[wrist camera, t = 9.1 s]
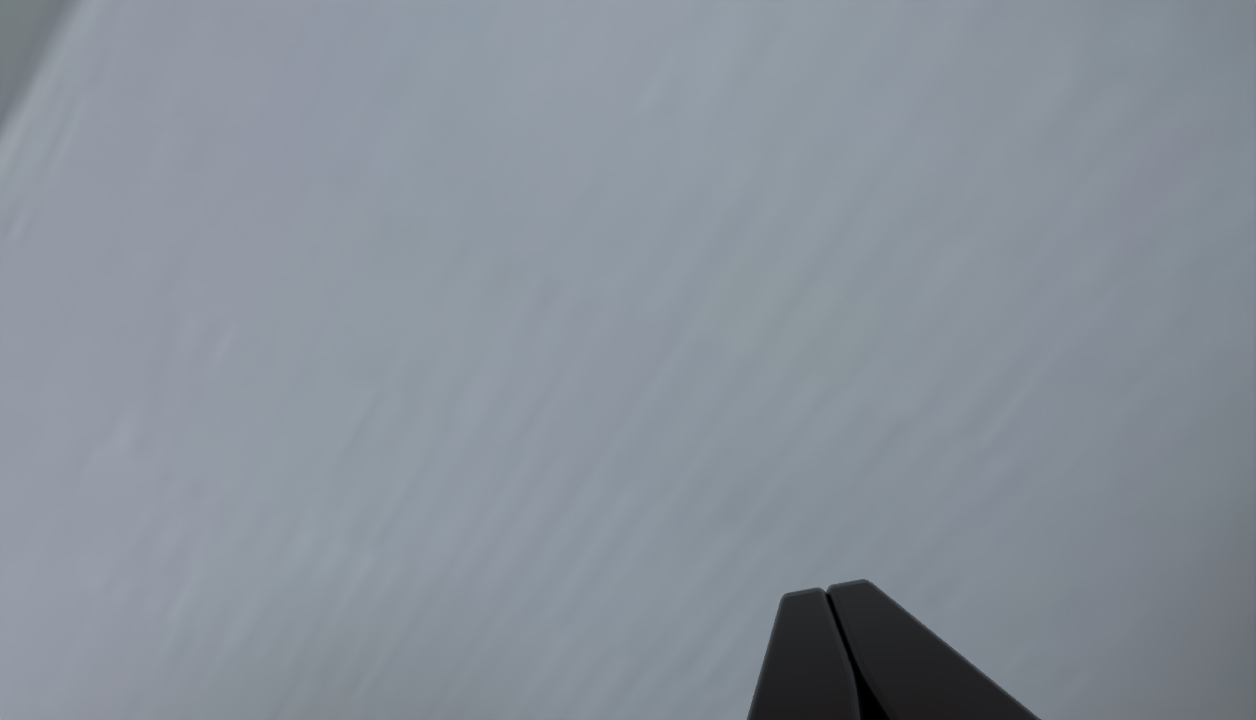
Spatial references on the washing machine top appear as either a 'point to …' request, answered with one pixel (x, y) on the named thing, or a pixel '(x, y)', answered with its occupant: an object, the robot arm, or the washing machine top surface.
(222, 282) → the washing machine top surface
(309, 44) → the washing machine top surface
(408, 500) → the washing machine top surface
